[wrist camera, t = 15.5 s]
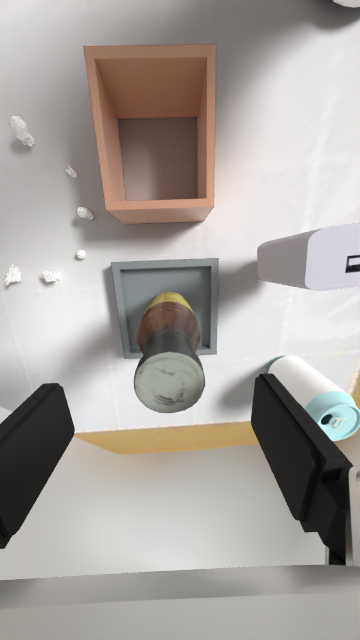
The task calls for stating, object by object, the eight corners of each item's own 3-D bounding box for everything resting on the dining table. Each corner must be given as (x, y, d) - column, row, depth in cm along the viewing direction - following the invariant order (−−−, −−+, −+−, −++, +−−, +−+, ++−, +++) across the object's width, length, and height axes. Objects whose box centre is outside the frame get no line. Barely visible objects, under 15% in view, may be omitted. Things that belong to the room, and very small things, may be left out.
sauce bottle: (168, 335, 30) (160, 453, 11) (141, 308, 29) (80, 392, 10) (198, 309, 29) (244, 392, 10) (171, 279, 28) (168, 313, 9)
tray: (214, 258, 28) (218, 258, 26) (213, 347, 32) (216, 354, 30) (116, 262, 28) (111, 262, 25) (128, 351, 32) (124, 358, 30)
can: (270, 391, 36) (316, 452, 24) (261, 362, 34) (307, 412, 22) (306, 379, 35) (370, 434, 24) (299, 348, 33) (365, 392, 22)
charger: (297, 271, 29) (418, 279, 15) (240, 278, 29) (304, 293, 15) (299, 239, 28) (435, 213, 13) (239, 247, 28) (309, 228, 13)
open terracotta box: (203, 108, 23) (216, 44, 16) (203, 221, 27) (213, 206, 20) (110, 110, 23) (83, 46, 16) (123, 223, 26) (106, 210, 20)
